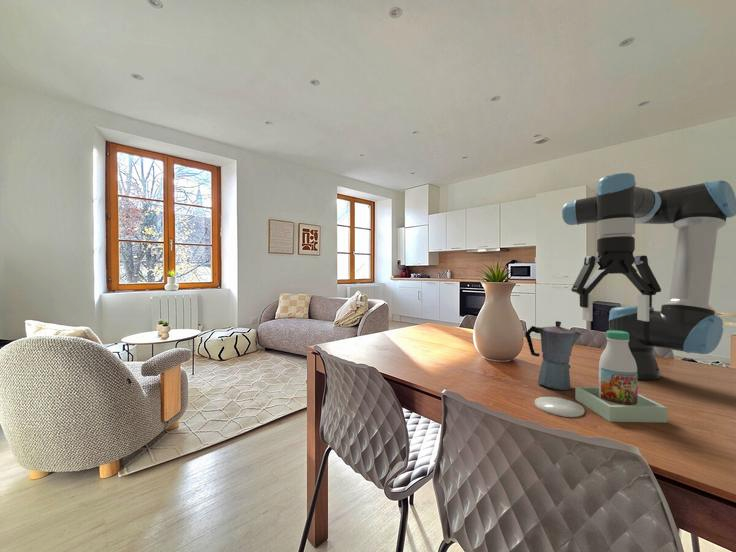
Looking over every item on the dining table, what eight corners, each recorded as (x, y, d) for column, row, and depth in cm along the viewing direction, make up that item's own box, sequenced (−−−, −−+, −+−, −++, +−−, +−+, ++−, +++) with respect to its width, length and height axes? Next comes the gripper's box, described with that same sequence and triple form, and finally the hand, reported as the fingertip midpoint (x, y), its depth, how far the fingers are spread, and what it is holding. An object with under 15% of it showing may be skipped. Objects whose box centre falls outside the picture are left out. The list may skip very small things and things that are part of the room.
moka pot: (588, 393, 91) (588, 324, 91) (530, 389, 94) (530, 322, 94) (573, 381, 100) (573, 319, 100) (521, 378, 103) (521, 318, 103)
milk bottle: (591, 404, 83) (591, 329, 83) (618, 403, 84) (618, 328, 84) (616, 417, 76) (616, 334, 75) (646, 416, 76) (646, 334, 76)
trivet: (568, 399, 87) (568, 397, 87) (594, 417, 76) (595, 415, 76) (527, 398, 87) (527, 396, 87) (548, 416, 76) (548, 414, 76)
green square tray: (624, 399, 86) (624, 387, 86) (667, 422, 73) (667, 407, 73) (575, 399, 86) (575, 386, 86) (609, 421, 74) (609, 406, 73)
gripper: (654, 237, 83) (654, 318, 83) (556, 239, 84) (556, 318, 84) (681, 234, 75) (680, 322, 75) (573, 235, 76) (573, 322, 77)
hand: (615, 320), depth 80 cm, fingers open, 13 cm apart
